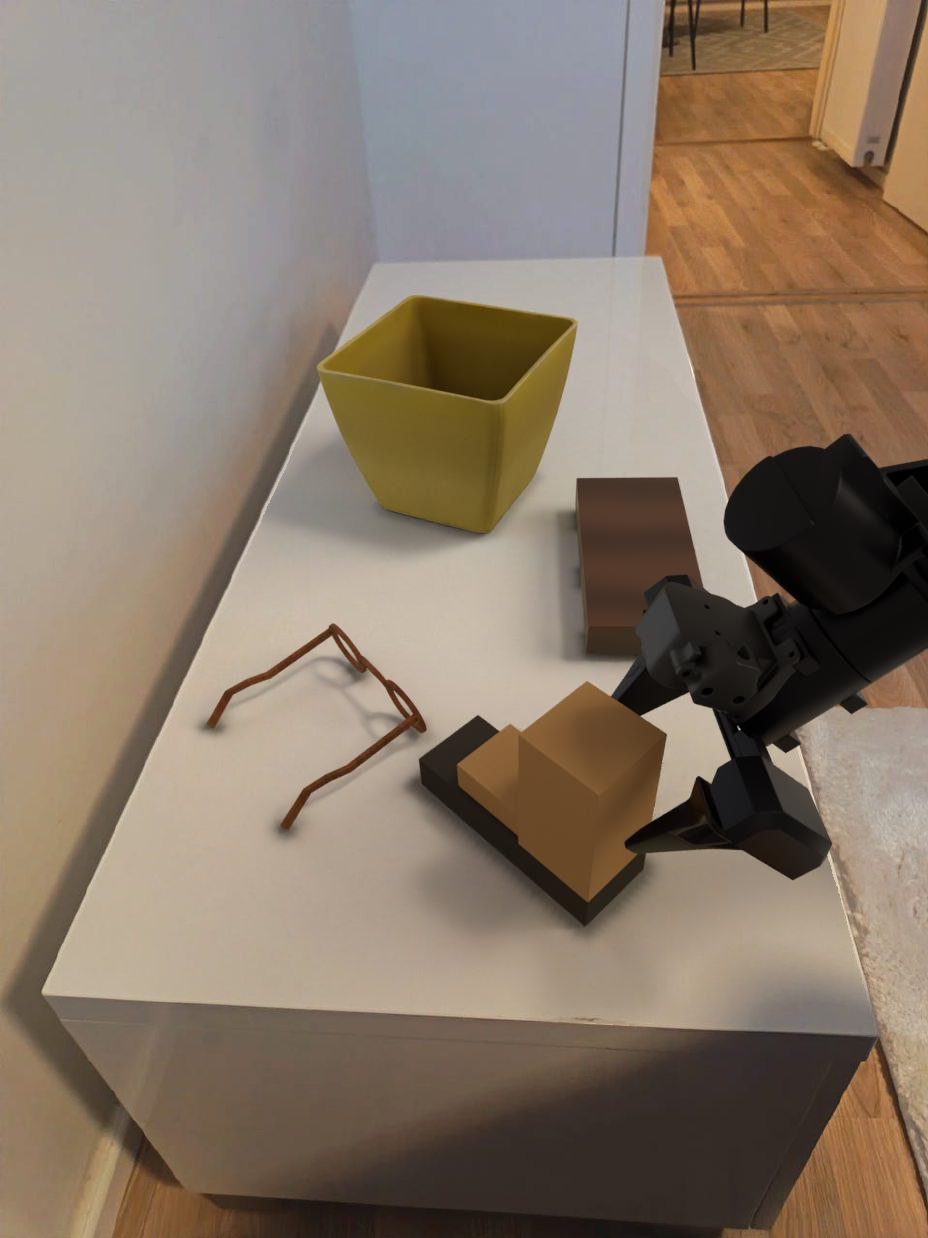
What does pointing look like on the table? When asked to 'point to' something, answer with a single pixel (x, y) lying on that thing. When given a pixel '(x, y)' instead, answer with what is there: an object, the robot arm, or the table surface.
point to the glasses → (361, 667)
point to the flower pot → (450, 405)
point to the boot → (557, 793)
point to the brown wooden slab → (628, 553)
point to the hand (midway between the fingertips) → (613, 783)
